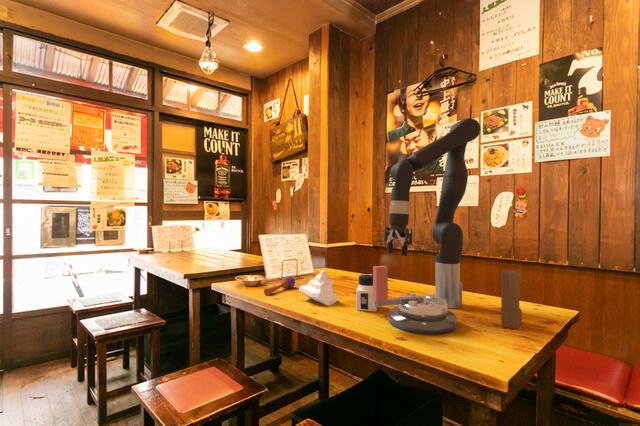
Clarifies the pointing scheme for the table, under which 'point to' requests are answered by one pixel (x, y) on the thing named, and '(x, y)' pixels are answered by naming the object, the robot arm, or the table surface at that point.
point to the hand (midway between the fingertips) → (396, 254)
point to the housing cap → (423, 324)
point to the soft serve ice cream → (320, 289)
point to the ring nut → (408, 300)
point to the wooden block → (510, 299)
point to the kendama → (281, 285)
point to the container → (365, 294)
